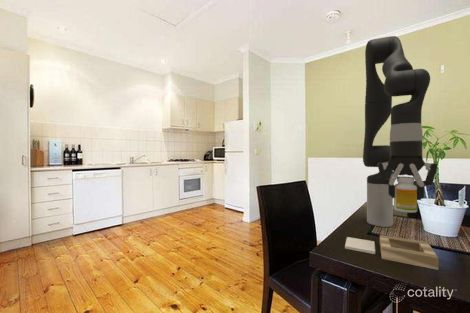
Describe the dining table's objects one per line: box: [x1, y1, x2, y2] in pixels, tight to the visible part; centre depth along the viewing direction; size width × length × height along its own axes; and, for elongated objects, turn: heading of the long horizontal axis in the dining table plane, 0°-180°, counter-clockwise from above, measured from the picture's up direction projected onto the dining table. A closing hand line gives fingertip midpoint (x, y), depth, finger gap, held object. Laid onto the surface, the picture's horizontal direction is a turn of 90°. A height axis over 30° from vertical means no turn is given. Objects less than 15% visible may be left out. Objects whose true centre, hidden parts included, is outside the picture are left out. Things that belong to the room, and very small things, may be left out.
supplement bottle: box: [393, 175, 418, 214], centre depth 65 cm, size 5×5×10 cm
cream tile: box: [344, 236, 376, 255], centre depth 71 cm, size 9×8×1 cm
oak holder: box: [379, 234, 439, 271], centre depth 65 cm, size 12×12×3 cm
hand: (405, 198), depth 65 cm, fingers closed on supplement bottle, 5 cm apart
